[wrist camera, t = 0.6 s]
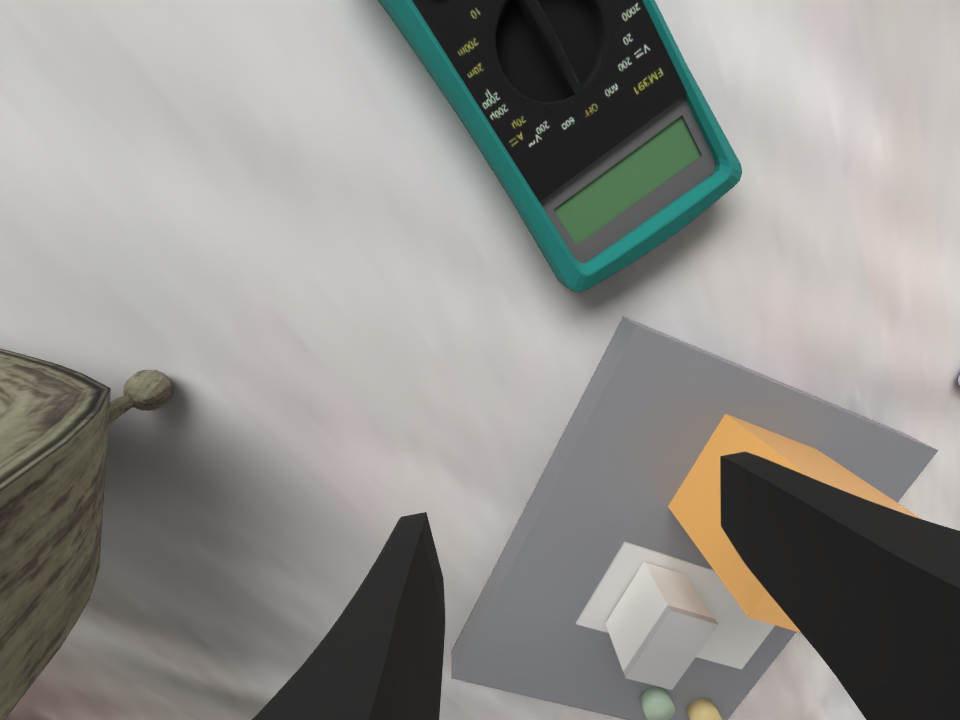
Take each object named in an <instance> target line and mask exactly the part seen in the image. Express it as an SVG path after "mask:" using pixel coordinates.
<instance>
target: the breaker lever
mask: <svg viewBox="0 0 960 720" xmlns="http://www.w3.org/2000/svg"><path fill="white" fill-rule="evenodd" d="M605 624H606V627H607V630H608V632H609V635H610V638H611V640H612V643H613V646H614V648H615V651H616V654H617V656H618V659H619V662H620V664H621V667H622V670H623V672H624V675H625V678H627V679H631V680H635V681H639V682H643V683H647V684H651V685H655V686H658V687H662V688H666V689H670V690H672V689H673V688H674V687H675V685H676V684H677V682H678V681H679V680H680V678H681V677H682V675H683V674H684V673H685V671H686V670H687V668H688V667H689V666H690V664H691V663H692V661H693V660H694V659H695V657H696V656H697V654H698V653H699V652H700V650H701V649H702V648H703V646H704V645H705V643H706V642H707V641H708V639H709V638H710V636H711V635H712V634H713V632H714V631H715V629H716V628H717V627H718V623H717V622H716V620H715V618H714V617H713V615H712V614H711V612H710V611H709V609H708V607H707V606H706V604H705V603H704V601H703V600H702V598H701V597H700V595H699V593H698V592H697V590H696V589H695V587H694V586H693V584H692V583H691V581H690V579H689V578H688V576H687V575H685V574H682V573H678V572H675V571H672V570H669V569H666V568H662V567H659V566H656V565H653V564H649V563H646V562H643V564H642V566H641V567H640V569H639V570H638V572H637V574H636V575H635V577H634V578H633V580H632V582H631V583H630V585H629V586H628V588H627V590H626V591H625V593H624V594H623V596H622V598H621V599H620V601H619V602H618V604H617V606H616V607H615V609H614V610H613V612H612V614H611V615H610V617H609V618H608V620H607V622H606V623H605Z"/></svg>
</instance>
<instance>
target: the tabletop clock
mask: <svg viewBox="0 0 960 720" xmlns="http://www.w3.org/2000/svg"><path fill="white" fill-rule="evenodd" d="M110 390H111V388H109V387H107V386H105V385H103V384H101V383H99V382H97V381H95V380H93V379H91V378H90V377H88V376H86V375H84V374H82V373H79V372H77V371H74V370H71V369H69V368H66V367H63V366H60V365H58V364H54V363H51V362H47V361H44V360H40V359H37V358H33V357H30V356H26V355H22V354H19V353H15V352H11V351H7V350H3V349H0V720H5V719H6V717H7V716H8V715H9V713H10V712H11V711H12V710H13V708H14V707H15V706H16V704H17V703H18V702H19V700H20V699H21V698H22V697H23V695H24V694H25V693H26V691H27V690H28V689H29V687H30V686H31V685H32V684H33V682H34V681H35V680H36V678H37V677H38V676H39V674H40V673H41V672H42V671H43V669H44V668H45V667H46V665H47V664H48V663H49V661H50V660H51V659H52V658H53V656H54V655H55V654H56V652H57V651H58V650H59V648H60V647H61V646H62V644H63V643H64V641H65V639H66V638H67V636H68V635H69V633H70V631H71V630H72V628H73V627H74V625H75V624H76V622H77V620H78V618H79V617H80V615H81V613H82V612H83V610H84V608H85V606H86V605H87V603H88V601H89V599H90V596H91V593H92V590H93V586H94V583H95V580H96V576H97V573H98V570H99V563H100V548H101V532H102V516H103V500H104V485H105V469H106V453H107V437H108V424H109V423H111V422H112V421H114V420H115V419H116V418H118V417H119V416H121V415H122V414H123V413H125V412H126V411H128V410H129V409H130V408H132V407H135V408H137V409H140V410H156V409H158V408H160V407H162V406H163V405H164V404H165V403H167V402H168V401H169V400H170V399H171V397H172V395H173V386H172V382H171V380H170V379H169V378H168V377H167V376H166V375H165V374H164V373H161V372H159V371H156V370H143V371H139V372H137V373H136V374H135V375H133V376H132V377H131V378H130V379H129V380H127V382H126V383H125V385H124V391H123V392H124V395H125V396H123V397H121V398H118V399H116V400H114V401H112V402H110Z"/></svg>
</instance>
